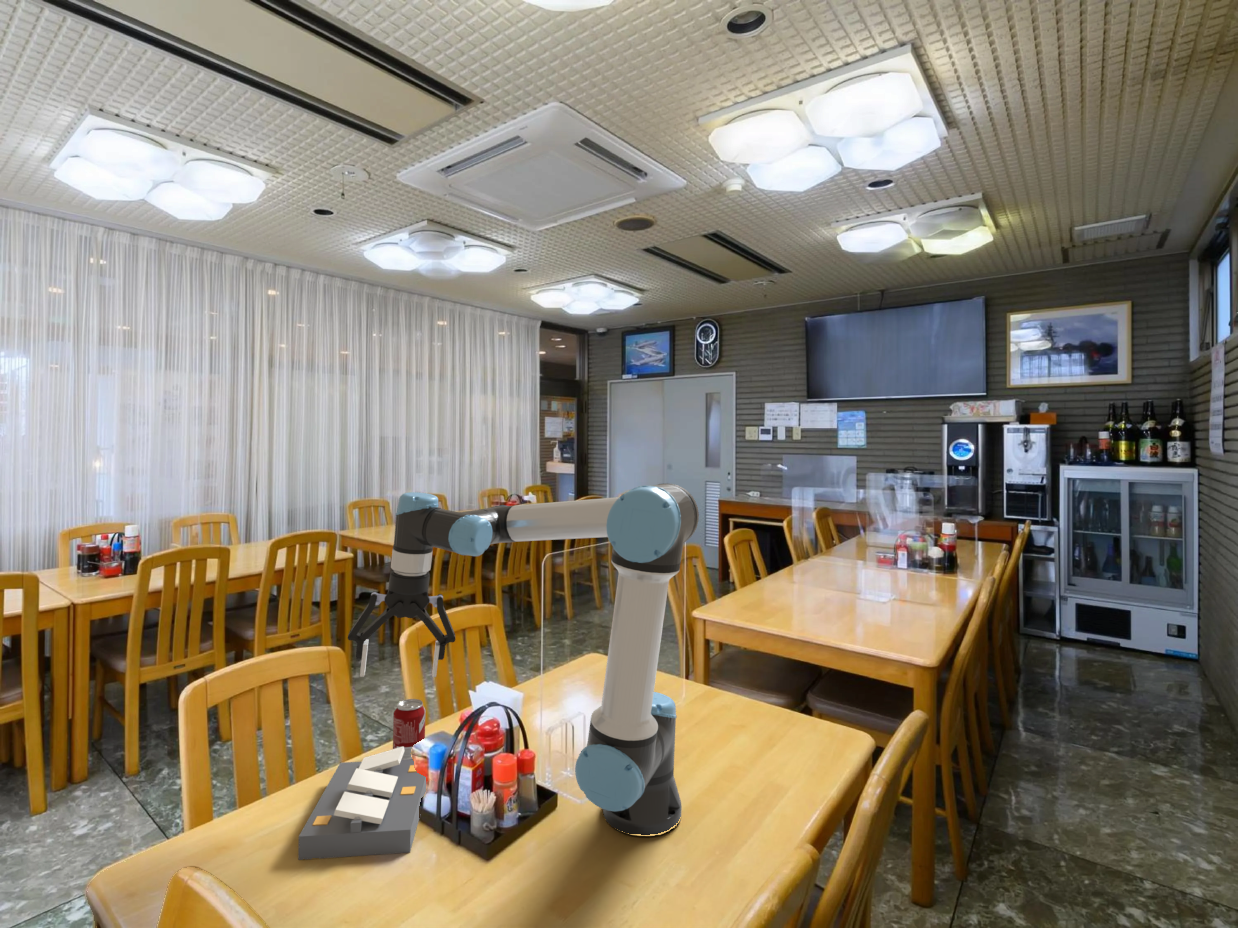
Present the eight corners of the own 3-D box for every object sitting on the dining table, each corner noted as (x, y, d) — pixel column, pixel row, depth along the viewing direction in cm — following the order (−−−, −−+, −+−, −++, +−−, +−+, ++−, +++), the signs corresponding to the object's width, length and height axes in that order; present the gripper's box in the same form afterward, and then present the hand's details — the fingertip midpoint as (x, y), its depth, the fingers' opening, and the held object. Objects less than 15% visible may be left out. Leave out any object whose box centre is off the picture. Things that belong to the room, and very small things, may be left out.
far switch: (405, 752, 128) (403, 745, 128) (400, 767, 122) (398, 759, 122) (366, 764, 127) (364, 757, 127) (358, 779, 121) (356, 772, 121)
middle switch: (395, 783, 120) (398, 776, 120) (389, 801, 114) (392, 792, 114) (354, 775, 119) (356, 767, 119) (345, 792, 113) (348, 784, 113)
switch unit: (430, 776, 130) (431, 750, 130) (410, 852, 106) (410, 819, 106) (340, 781, 127) (340, 754, 127) (298, 859, 104) (298, 826, 103)
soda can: (414, 766, 134) (415, 711, 134) (386, 762, 135) (387, 708, 135) (430, 751, 141) (431, 699, 140) (403, 747, 142) (404, 696, 142)
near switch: (387, 808, 112) (389, 799, 112) (379, 827, 106) (382, 819, 106) (342, 799, 111) (344, 790, 111) (332, 819, 105) (335, 809, 105)
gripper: (473, 569, 130) (461, 666, 131) (345, 561, 122) (334, 665, 124) (475, 579, 122) (463, 682, 124) (339, 572, 115) (328, 682, 117)
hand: (398, 674), depth 124 cm, fingers open, 13 cm apart
